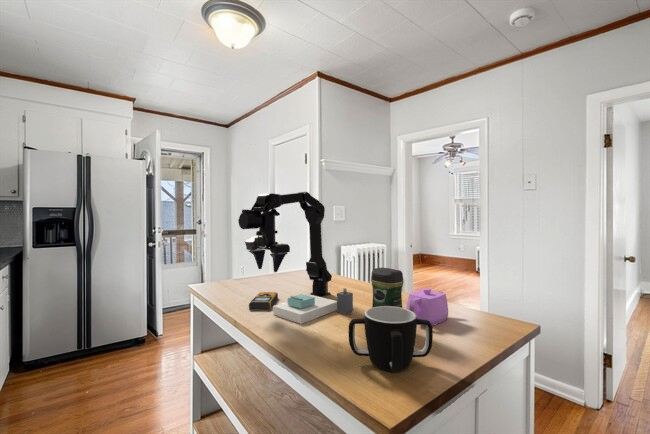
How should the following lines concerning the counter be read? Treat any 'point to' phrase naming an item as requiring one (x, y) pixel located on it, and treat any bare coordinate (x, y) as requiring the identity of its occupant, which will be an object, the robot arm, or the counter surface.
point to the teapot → (428, 305)
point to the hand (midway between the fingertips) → (267, 270)
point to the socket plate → (305, 310)
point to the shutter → (301, 301)
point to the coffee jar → (387, 287)
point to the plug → (344, 302)
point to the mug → (390, 337)
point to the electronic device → (263, 301)
